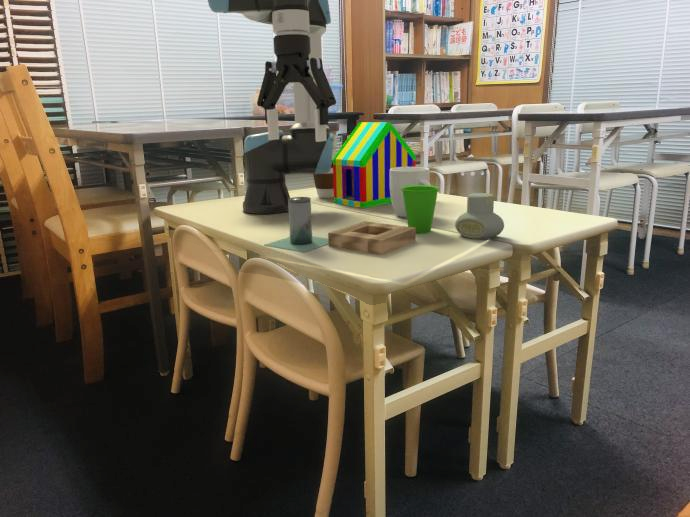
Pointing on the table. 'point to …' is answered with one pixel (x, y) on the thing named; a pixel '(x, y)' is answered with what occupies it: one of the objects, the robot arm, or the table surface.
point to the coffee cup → (324, 184)
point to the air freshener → (479, 218)
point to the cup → (420, 206)
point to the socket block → (372, 237)
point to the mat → (287, 245)
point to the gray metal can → (300, 220)
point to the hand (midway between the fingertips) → (296, 140)
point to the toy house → (369, 164)
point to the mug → (405, 184)
